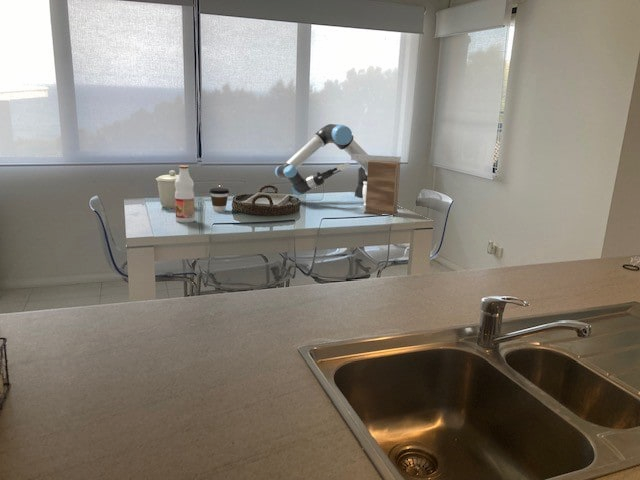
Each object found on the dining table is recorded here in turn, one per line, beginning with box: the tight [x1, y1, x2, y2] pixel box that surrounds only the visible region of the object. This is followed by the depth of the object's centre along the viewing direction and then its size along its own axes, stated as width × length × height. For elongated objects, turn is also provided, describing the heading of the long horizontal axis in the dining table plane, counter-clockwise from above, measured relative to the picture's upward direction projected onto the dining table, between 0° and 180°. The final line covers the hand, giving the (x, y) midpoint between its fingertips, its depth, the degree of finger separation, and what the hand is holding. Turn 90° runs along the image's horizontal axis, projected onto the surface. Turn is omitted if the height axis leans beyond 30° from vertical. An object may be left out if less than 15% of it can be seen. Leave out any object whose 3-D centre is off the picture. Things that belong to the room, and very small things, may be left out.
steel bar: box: [350, 154, 402, 164], centre depth 304 cm, size 4×28×3 cm, turn 83°
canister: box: [155, 169, 179, 210], centre depth 301 cm, size 18×18×21 cm
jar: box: [362, 181, 367, 207], centre depth 331 cm, size 11×10×15 cm
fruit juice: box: [175, 164, 196, 224], centre depth 267 cm, size 9×9×28 cm
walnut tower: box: [363, 161, 402, 216], centre depth 307 cm, size 13×17×30 cm
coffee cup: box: [208, 187, 230, 213], centre depth 298 cm, size 11×11×12 cm
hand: (345, 165), depth 312 cm, fingers open, 13 cm apart
